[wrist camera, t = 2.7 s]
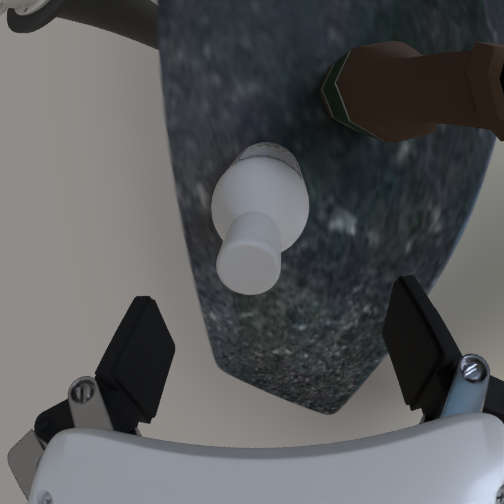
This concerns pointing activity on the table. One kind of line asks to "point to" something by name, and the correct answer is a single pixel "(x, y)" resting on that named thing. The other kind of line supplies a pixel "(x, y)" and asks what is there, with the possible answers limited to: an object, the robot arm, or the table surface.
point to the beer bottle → (415, 90)
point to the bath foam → (258, 216)
